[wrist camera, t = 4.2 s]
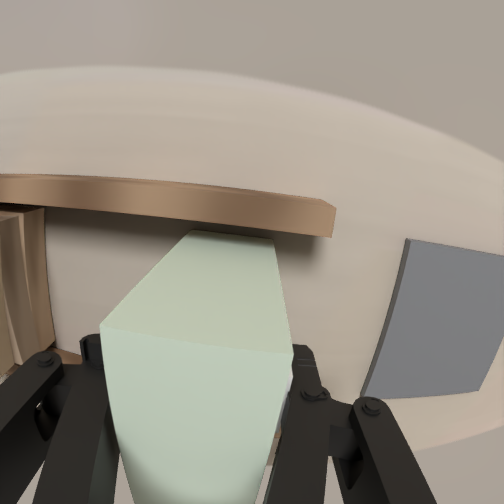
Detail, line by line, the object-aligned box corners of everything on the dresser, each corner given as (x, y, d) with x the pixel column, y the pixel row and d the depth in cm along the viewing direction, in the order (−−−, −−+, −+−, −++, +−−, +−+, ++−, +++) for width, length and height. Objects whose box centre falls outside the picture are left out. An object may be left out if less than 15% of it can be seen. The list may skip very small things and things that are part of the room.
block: (184, 365, 18) (136, 508, 8) (191, 229, 16) (99, 325, 6) (252, 374, 18) (247, 526, 8) (272, 239, 16) (293, 354, 6)
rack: (-6, 339, 18) (-84, 408, 8) (-24, 174, 15) (-140, 197, 5) (281, 404, 18) (292, 546, 9) (321, 199, 15) (418, 258, 6)
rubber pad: (360, 393, 18) (362, 399, 18) (406, 238, 16) (411, 241, 15) (474, 386, 18) (478, 390, 18) (522, 259, 16) (527, 262, 15)
